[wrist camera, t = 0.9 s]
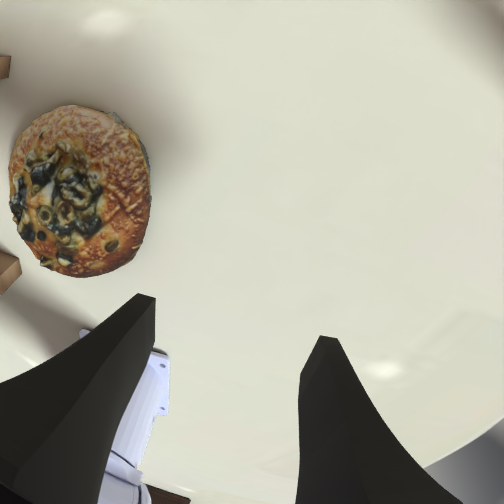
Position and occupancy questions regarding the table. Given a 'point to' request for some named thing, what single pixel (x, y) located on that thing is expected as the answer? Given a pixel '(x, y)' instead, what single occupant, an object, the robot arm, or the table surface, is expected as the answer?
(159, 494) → the manual coffee grinder
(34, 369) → the robot arm
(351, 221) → the table surface
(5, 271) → the roll holder
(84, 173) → the bread roll
